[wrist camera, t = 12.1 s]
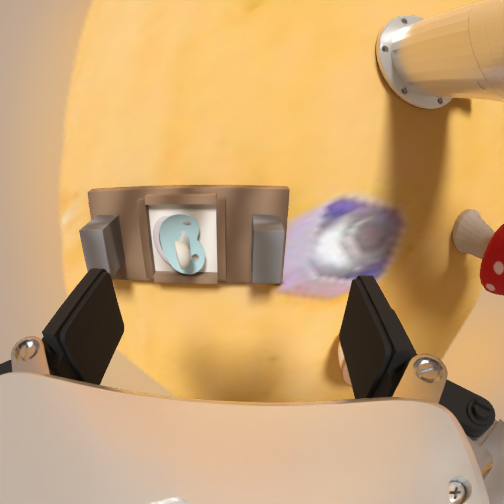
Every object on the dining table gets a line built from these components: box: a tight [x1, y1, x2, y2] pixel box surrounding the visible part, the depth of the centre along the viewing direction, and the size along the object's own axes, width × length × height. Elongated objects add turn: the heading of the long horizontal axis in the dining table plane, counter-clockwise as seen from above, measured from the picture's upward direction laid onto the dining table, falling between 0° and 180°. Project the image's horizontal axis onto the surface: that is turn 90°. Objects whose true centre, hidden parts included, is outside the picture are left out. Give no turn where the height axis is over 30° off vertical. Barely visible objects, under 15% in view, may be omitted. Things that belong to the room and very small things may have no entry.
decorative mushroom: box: [452, 210, 504, 295], centre depth 31 cm, size 10×9×15 cm
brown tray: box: [79, 185, 289, 284], centre depth 34 cm, size 24×12×6 cm, turn 88°
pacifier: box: [153, 214, 205, 274], centre depth 33 cm, size 7×6×6 cm
